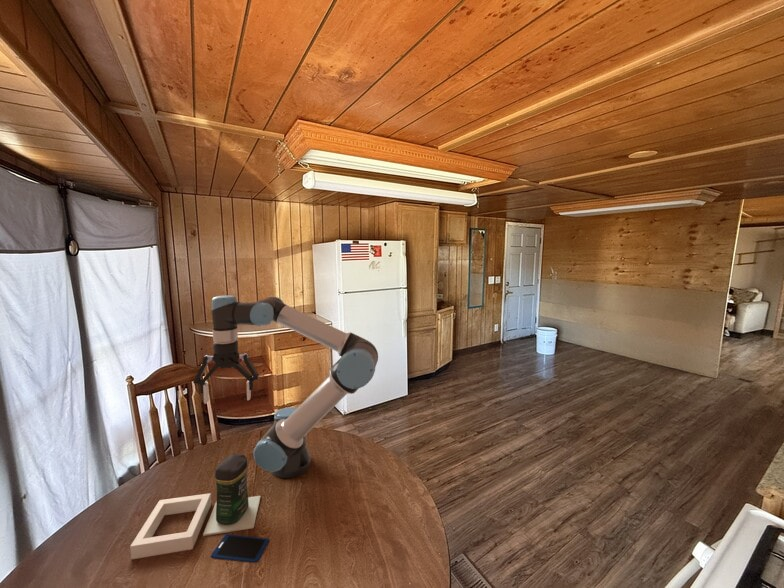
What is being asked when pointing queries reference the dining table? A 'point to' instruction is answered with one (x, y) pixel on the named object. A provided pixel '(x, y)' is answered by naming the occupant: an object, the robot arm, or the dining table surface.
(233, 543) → the cell phone
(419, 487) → the dining table surface
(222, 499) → the coffee jar
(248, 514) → the beige board
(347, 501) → the dining table surface
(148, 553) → the cream open rectangular frame
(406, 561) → the dining table surface
